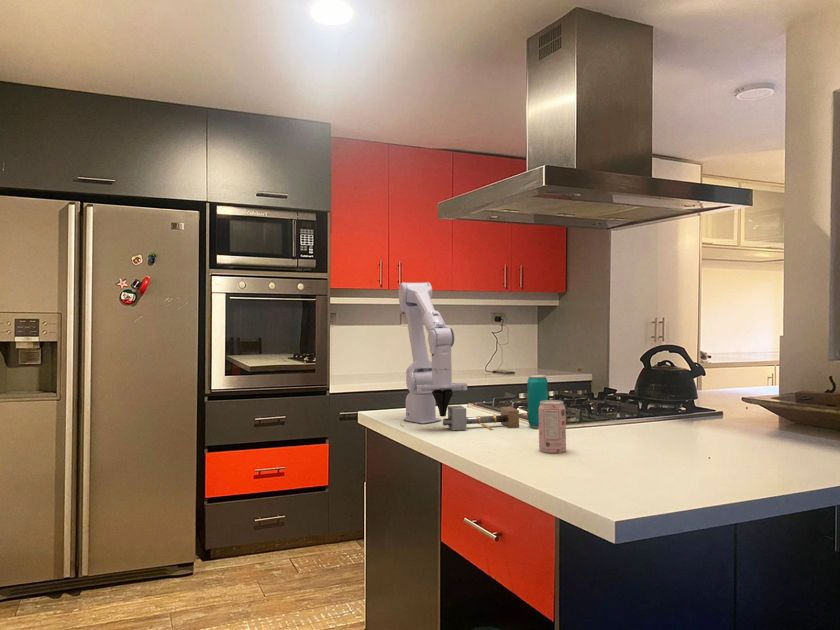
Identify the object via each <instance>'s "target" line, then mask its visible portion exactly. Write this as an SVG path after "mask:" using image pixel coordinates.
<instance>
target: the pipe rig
mask: <svg viewBox="0 0 840 630" xmlns="http://www.w3.org/2000/svg"><path fill="white" fill-rule="evenodd" d="M496 423H500V424H501V425H502V426H504V427H506V428H508V429H517V428H520V411H519V409H517V408H515V407H512V406H501V407H500V415H487V416H485V415H484V416H480V415H477V416H469V417H468V416H466V424H467V425H475V424H478V425H481V426H482V427H484V428H486V429H487V430H489V431H493V430H494V428H492V427H490V426H489V425H487V424H496ZM442 425H443V426H444V427H445V426H448V425H452V418H448V417H447V418H442Z"/></svg>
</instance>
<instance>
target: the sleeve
mask: <svg viewBox="0 0 840 630" xmlns="http://www.w3.org/2000/svg"><path fill="white" fill-rule="evenodd" d="M466 417H467V408H466V407H464V406H463V405H461V404H460V405H448V407H447V418H452V425H447V427H448V428H449V429H451V430H452V431H460V430H461V431H462V430H464V431H465V430H467V425H468V424H466Z"/></svg>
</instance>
